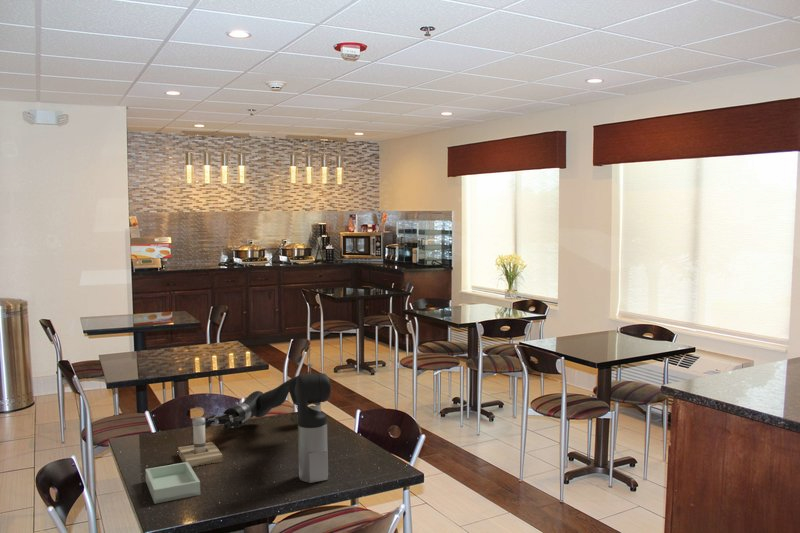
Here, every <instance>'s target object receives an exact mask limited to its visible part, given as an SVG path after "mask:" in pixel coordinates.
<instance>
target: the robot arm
mask: <svg viewBox="0 0 800 533" xmlns="http://www.w3.org/2000/svg"><path fill="white" fill-rule="evenodd" d="M289 394H290V395H289ZM331 394H332V383H331V379H330V378H329V376H328V375H327V374H326V373H322V372H320V373H319V372H317V373H311V374H310V373H303V374H299V375H297V376H294V377H292V378H289V379H287V380H286V381H284V382H283V383H281V384H279V385H278V386H277V387H275V388H273V389H271V390H268V391H266V392H264V393H263V392H262V391H260V390H256V391H253V392H251V393H250V394H249V395H248V396H247V397H246V398H245V400H244V401H242V402H241V403H237V404H234V405H232V406H230V407H228V408H227V409H225V410H224V412H223V414H220V415H216V414H212V415H209V416H207V417H205V429H207V428H210V427H211V426H215V427H219V426H223V430H224V431H227V430H229V429H231V428H232V429H234V428H240V427H242V426H243V425H245V424H246V422H247V421H249V420H250V419H252V418H253V417H255V418H262V417H264V416H266V415H267V414H268V413H269V412H271V410H273V409H275V408H278V407H280V406H282V405H283V404H284V403H285V402H286V399H287V398H288V395H289V396H290V398H291V401H292V403H293V404H294V405H295V406H297V408H298V409H297V436H298V437H297V443H298V444H297V445H298V451H297V452H298V478H299V480H300V481H302V482H305V483H308V484H313V483H317V482H323V481H327V480H328V479H329V459H328V458H329V456H328V454H329V452H328V421H327V420H328V417H327V415H326V413H324V412H322V411H321V412H320V411H316V410H313V409H311V408H309V407H308V406H309V405H308V404H309V403H325V402H327V401H328V400H329V399H330V397H331ZM307 405H308V406H307Z"/></svg>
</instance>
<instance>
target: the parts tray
mask: <svg viewBox="0 0 800 533" xmlns="http://www.w3.org/2000/svg"><path fill="white" fill-rule="evenodd" d="M145 483H146V485H147V488H148V490H149V494H150V495H151V498H152V501H153V504H159V503H160V504H161V503H166V502H170V501H176V500H181V499H185V498H191V497H196V496H201V481H200V479H199V477H198V476H197V474H196V472H195V471H194V469H193V467H191V466H190V464H189V463H188V462H184V463H183V462H180V463H179V462H178V463H173V464H169V465H162V466H161V465H160V466H157V467H156V466H155V467H150V468H149V467H148V468H145Z"/></svg>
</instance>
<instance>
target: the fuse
mask: <svg viewBox="0 0 800 533" xmlns="http://www.w3.org/2000/svg"><path fill="white" fill-rule="evenodd" d="M205 418H206V417H204V416H197V417H193V418H192V434H193V435H192V436H193V445H194V454H198V453H204V452H206V443H207V442H206V441H207V440H206V428H205Z"/></svg>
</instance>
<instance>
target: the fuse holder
mask: <svg viewBox="0 0 800 533" xmlns="http://www.w3.org/2000/svg"><path fill="white" fill-rule="evenodd" d="M177 451H178V456H179V458H180V459H181V461H182V463H184V462H188V463H189V464H190V466H191V468H193V467H194V466H195V467H199V465H201V466H205V464H206V465H211V463H212V464H216V463H217V464H218V463H222V462H223V454H222V452H221V451H220V450H219V448H218V447H217V446H216V445H215V443H214V442H213V441H211V442H206V452H204V453H198V454H194V444H192V445H184V446H178V447H177Z"/></svg>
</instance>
